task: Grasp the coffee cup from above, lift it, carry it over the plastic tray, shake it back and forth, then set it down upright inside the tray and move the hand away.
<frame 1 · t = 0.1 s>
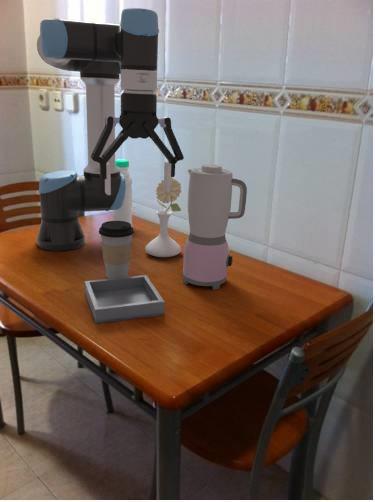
hand: (138, 192, 103), 28 cm above the table, tool pointing down, fingers open, 13 cm apart
blender: (210, 282, 127), on the table
tray: (123, 303, 112), on the table
coffee cup: (116, 276, 128), on the table
flower in vase: (164, 255, 145), on the table
water bottle: (122, 228, 169), on the table
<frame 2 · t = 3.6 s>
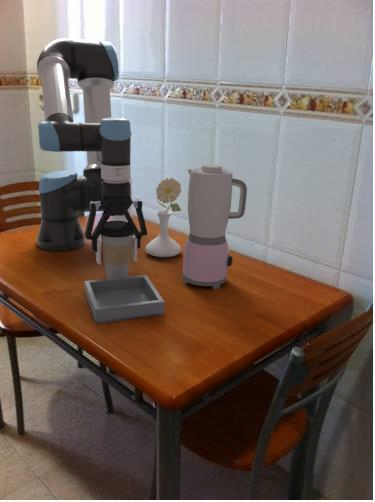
hand: (116, 261, 126), 5 cm above the table, tool pointing down, fingers closed on coffee cup, 9 cm apart
coffee cup: (116, 276, 128), on the table, touching gripper
everything else where it was.
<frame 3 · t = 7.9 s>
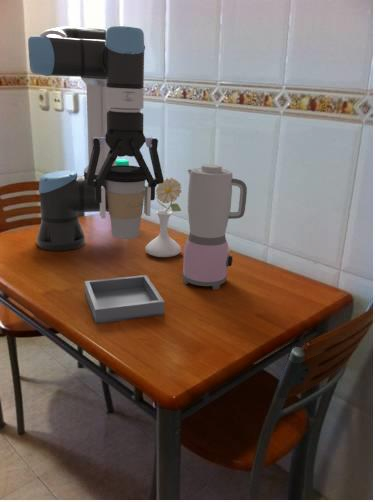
hand: (125, 215, 102), 23 cm above the table, tool pointing down, fingers closed on coffee cup, 9 cm apart
coffee cup: (125, 235, 104), point 18 cm above the table, touching gripper
everything else where it was.
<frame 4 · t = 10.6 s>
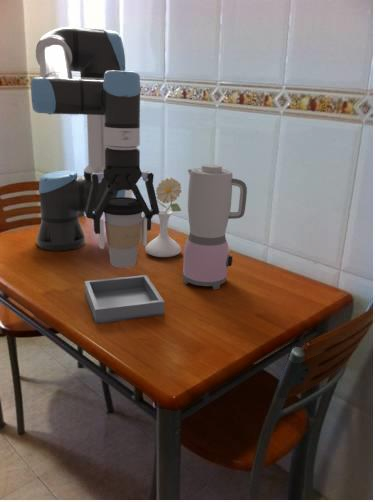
hand: (122, 245, 107), 15 cm above the table, tool pointing down, fingers closed on coffee cup, 9 cm apart
coffee cup: (123, 263, 109), point 11 cm above the table, touching gripper
everything else where it was.
when the fingers open (6 cm above the table, at t = 12.4 s): coffee cup drops 1 cm, resting on tray.
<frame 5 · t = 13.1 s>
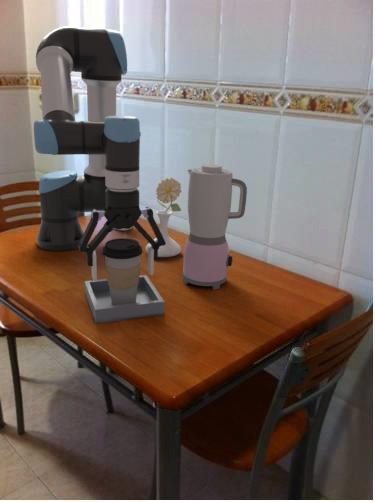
hand: (122, 275, 110), 8 cm above the table, tool pointing down, fingers open, 13 cm apart
coffee cup: (123, 302, 112), resting on tray
everything else where it was.
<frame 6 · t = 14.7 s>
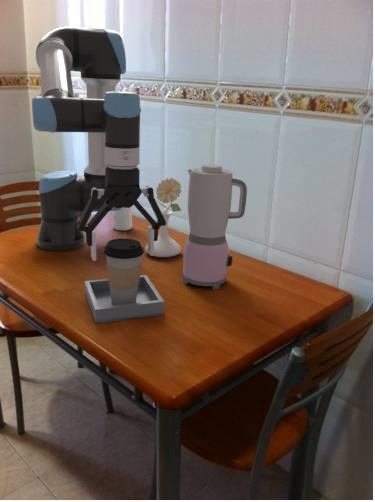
hand: (122, 256, 108), 12 cm above the table, tool pointing down, fingers open, 13 cm apart
nothing on the table moved.
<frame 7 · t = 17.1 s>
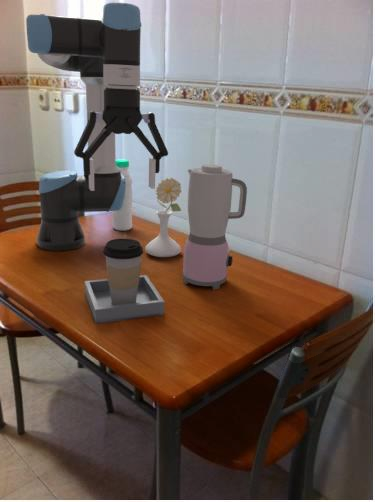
hand: (122, 188, 103), 29 cm above the table, tool pointing down, fingers open, 13 cm apart
nothing on the table moved.
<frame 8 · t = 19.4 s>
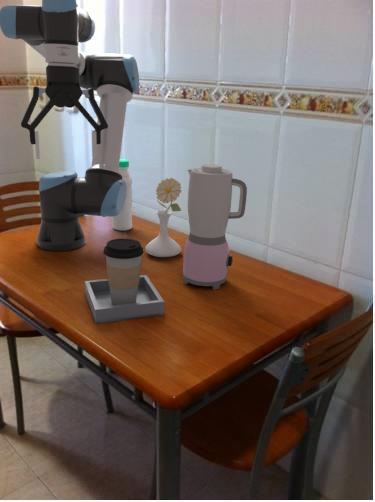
hand: (66, 158, 114), 33 cm above the table, tool pointing down, fingers open, 13 cm apart
nothing on the table moved.
at the end: coffee cup inside the target area on the tray (0.1 cm from its centre), point 0.4 cm above the tray's base; coffee cup tilted 0°; the gripper is holding nothing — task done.
